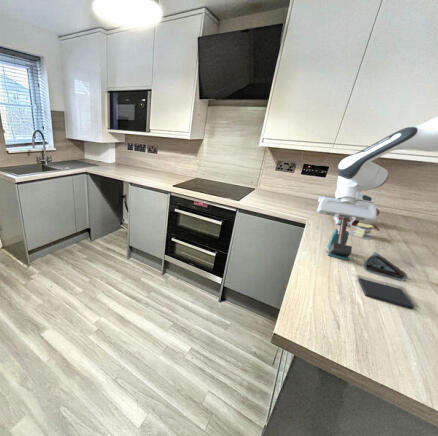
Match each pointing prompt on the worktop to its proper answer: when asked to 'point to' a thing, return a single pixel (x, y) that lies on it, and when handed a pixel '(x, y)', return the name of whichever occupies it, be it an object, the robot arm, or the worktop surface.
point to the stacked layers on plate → (362, 231)
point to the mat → (385, 293)
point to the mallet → (341, 242)
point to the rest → (335, 240)
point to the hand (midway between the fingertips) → (343, 225)
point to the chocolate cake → (384, 267)
